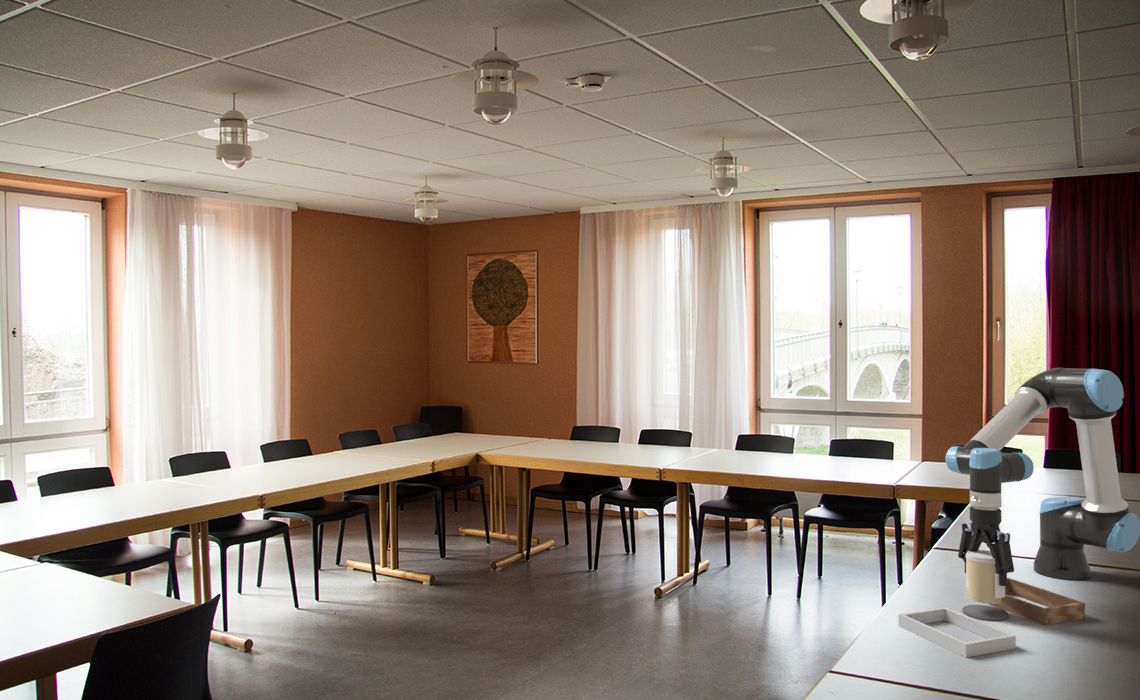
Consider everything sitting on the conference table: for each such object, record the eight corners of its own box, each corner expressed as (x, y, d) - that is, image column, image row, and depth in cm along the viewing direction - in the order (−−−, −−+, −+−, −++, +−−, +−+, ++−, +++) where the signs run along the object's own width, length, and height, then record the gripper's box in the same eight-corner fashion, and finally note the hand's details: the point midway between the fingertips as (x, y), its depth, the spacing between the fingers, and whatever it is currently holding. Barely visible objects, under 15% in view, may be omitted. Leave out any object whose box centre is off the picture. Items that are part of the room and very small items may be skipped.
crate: (1008, 591, 239) (1008, 577, 239) (1085, 618, 216) (1085, 603, 216) (970, 597, 234) (970, 583, 234) (1044, 625, 212) (1044, 609, 212)
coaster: (984, 605, 228) (984, 602, 228) (1018, 617, 217) (1018, 615, 217) (953, 609, 224) (953, 607, 224) (985, 623, 214) (985, 620, 214)
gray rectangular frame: (945, 618, 218) (945, 607, 218) (1015, 648, 197) (1015, 635, 197) (898, 625, 213) (898, 614, 213) (965, 657, 192) (965, 644, 192)
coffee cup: (1009, 605, 215) (1009, 559, 215) (970, 603, 217) (970, 558, 217) (998, 594, 224) (998, 550, 224) (961, 592, 226) (961, 548, 226)
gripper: (943, 500, 229) (943, 582, 230) (1008, 516, 209) (1007, 606, 209) (964, 498, 232) (964, 579, 232) (1030, 514, 211) (1030, 602, 212)
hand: (985, 591), depth 221 cm, fingers closed on coffee cup, 9 cm apart
